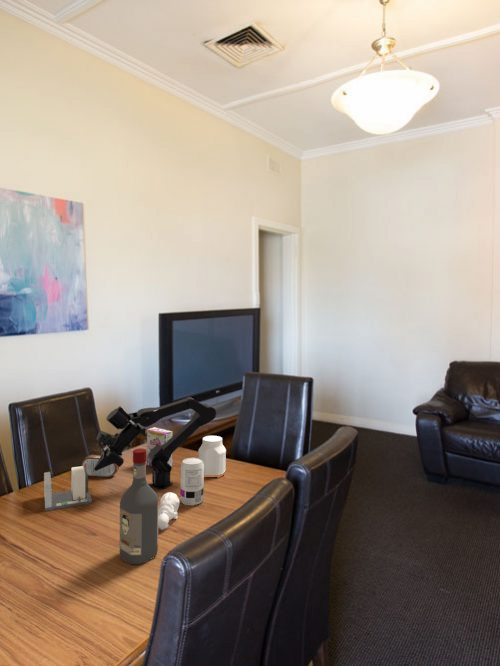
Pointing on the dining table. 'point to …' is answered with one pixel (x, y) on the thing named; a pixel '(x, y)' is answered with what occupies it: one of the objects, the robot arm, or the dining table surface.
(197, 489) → the supplement can
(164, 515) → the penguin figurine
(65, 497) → the base
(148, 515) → the liquor
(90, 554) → the dining table surface
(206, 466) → the jar
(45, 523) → the dining table surface
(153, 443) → the candy bar box
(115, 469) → the tin
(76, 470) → the block
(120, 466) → the robot arm
